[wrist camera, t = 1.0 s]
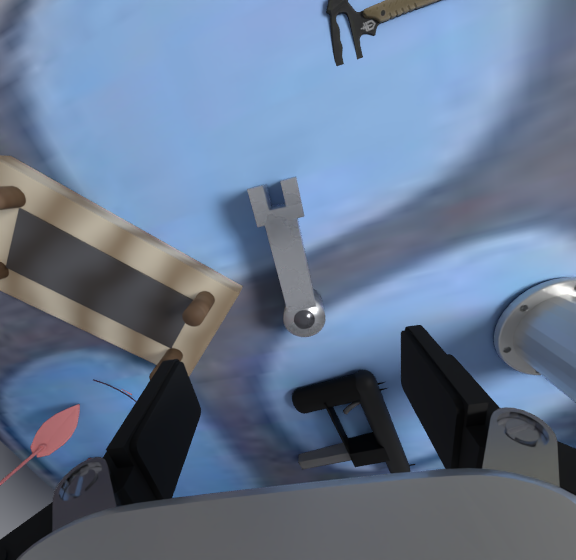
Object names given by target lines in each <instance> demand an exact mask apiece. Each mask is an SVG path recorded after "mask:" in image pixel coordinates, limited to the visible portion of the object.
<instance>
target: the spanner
mask: <svg viewBox="0 0 576 560" xmlns="http://www.w3.org/2000/svg"><path fill="white" fill-rule="evenodd" d="M280 182H281V186H282V191H283V195H284V199H285V203H283V204H279V205H275V206H272V203H271V199H270V195H269V191H268V187H267V184H265V185H261V186H257V187H253V188H250V189H247V191H248V194H249V198H250V202H251V205H252V209H253V212H254V216H255V220H256V223H257V227H261V226H265V228H266V232H267V235H268V239H269V243H270V247H271V251H272V254H273V258H274V262H275V266H276V269H277V273H278V277H279V281H280V285H281V288H282V292H283V296H284V300H285V306H284V317H283V321H284V325H285V327H286V328H287V330H288V331H289V332H290V333H292V334H293V335H296V336H299V337H310V336H313V335H315V334H317V333H318V332H319V331H320V330H321V329H322V328H323V326H324V324H325V313H324V308H323V303H322V298H321V296H320V294H319V293H318V292H317V291H316V290H314V289H313V285H312V280H311V276H310V271H309V267H308V262H307V258H306V253H305V248H304V244H303V239H302V235H301V230H300V225H299V221H298V218H300V217H304V212H303V207H302V202H301V197H300V193H299V188H298V183H297V178H296V177H293V178H289V179H285V180H282V181H280Z"/></svg>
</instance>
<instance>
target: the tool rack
mask: <svg viewBox="0 0 576 560" xmlns="http://www.w3.org/2000/svg"><path fill="white" fill-rule="evenodd" d="M242 287H243V286H241V285H239V284H237V283H236V282H234V281H232V280H230V279H229V278H227V277H225V276H223V275H221V274H220V273H218V272H216V271H214V270H213V269H211V268H209V267H207V266H205V265H204V264H202V263H200V262H198V261H197V260H195V259H193V258H191V257H189V256H188V255H186V254H184V253H182V252H180V251H179V250H177V249H175V248H173V247H172V246H170V245H168V244H166V243H164V242H163V241H161V240H159V239H157V238H156V237H154V236H152V235H150V234H148V233H147V232H145V231H143V230H141V229H140V228H138V227H136V226H134V225H132V224H131V223H129V222H127V221H125V220H124V219H122V218H120V217H118V216H116V215H115V214H113V213H111V212H109V211H108V210H106V209H104V208H102V207H100V206H99V205H97V204H95V203H93V202H92V201H90V200H88V199H86V198H84V197H83V196H81V195H79V194H77V193H76V192H74V191H72V190H70V189H68V188H67V187H65V186H63V185H61V184H60V183H58V182H56V181H54V180H52V179H51V178H49V177H47V176H45V175H44V174H42V173H40V172H38V171H36V170H35V169H33V168H31V167H29V166H28V165H26V164H24V163H22V162H20V161H19V160H17V159H15V158H13V157H12V156H0V291H2V292H4V293H6V294H9V295H11V296H13V297H15V298H17V299H19V300H21V301H23V302H25V303H27V304H30V305H32V306H34V307H36V308H38V309H40V310H42V311H44V312H46V313H49V314H51V315H53V316H55V317H57V318H59V319H61V320H63V321H65V322H67V323H70V324H72V325H74V326H76V327H78V328H80V329H82V330H84V331H86V332H88V333H91V334H93V335H95V336H97V337H99V338H101V339H103V340H105V341H107V342H109V343H112V344H114V345H116V346H118V347H120V348H122V349H124V350H126V351H128V352H131V353H133V354H135V355H137V356H139V357H141V358H143V359H145V360H147V361H149V362H152V363H154V364H156V365H157V366H156V367H155V368H154V370H153V371H152V372H151V374H150V376H149V378H150V380H151V378H152V377H153V375H154V374H155V372H156V371H157V369H158V368H159V366H160V364H161V363H162V362H163V361H165V360H172V359H178V360H179V361H180V362H183V363H184V365H185V368H186V371H187V373H188V376H190V374H191V372H192V371H193V369H194V367H195V366H196V364H197V362H198V361H199V359H200V357H201V356H202V354H203V353H204V351H205V349H206V348H207V346H208V344H209V343H210V341H211V339H212V338H213V336H214V334H215V333H216V331H217V330H218V328H219V326H220V325H221V323H222V321H223V320H224V318H225V316H226V315H227V313H228V311H229V310H230V308H231V307H232V305H233V303H234V302H235V300H236V298H237V297H238V295H239V293H240V291H241V289H242Z"/></svg>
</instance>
